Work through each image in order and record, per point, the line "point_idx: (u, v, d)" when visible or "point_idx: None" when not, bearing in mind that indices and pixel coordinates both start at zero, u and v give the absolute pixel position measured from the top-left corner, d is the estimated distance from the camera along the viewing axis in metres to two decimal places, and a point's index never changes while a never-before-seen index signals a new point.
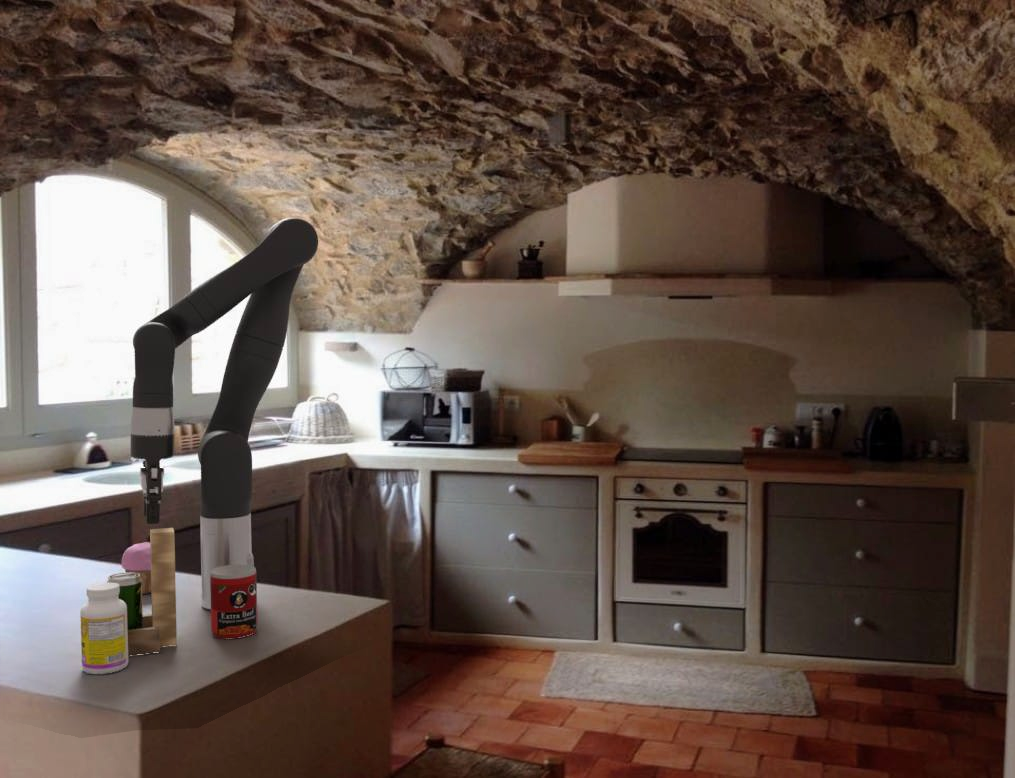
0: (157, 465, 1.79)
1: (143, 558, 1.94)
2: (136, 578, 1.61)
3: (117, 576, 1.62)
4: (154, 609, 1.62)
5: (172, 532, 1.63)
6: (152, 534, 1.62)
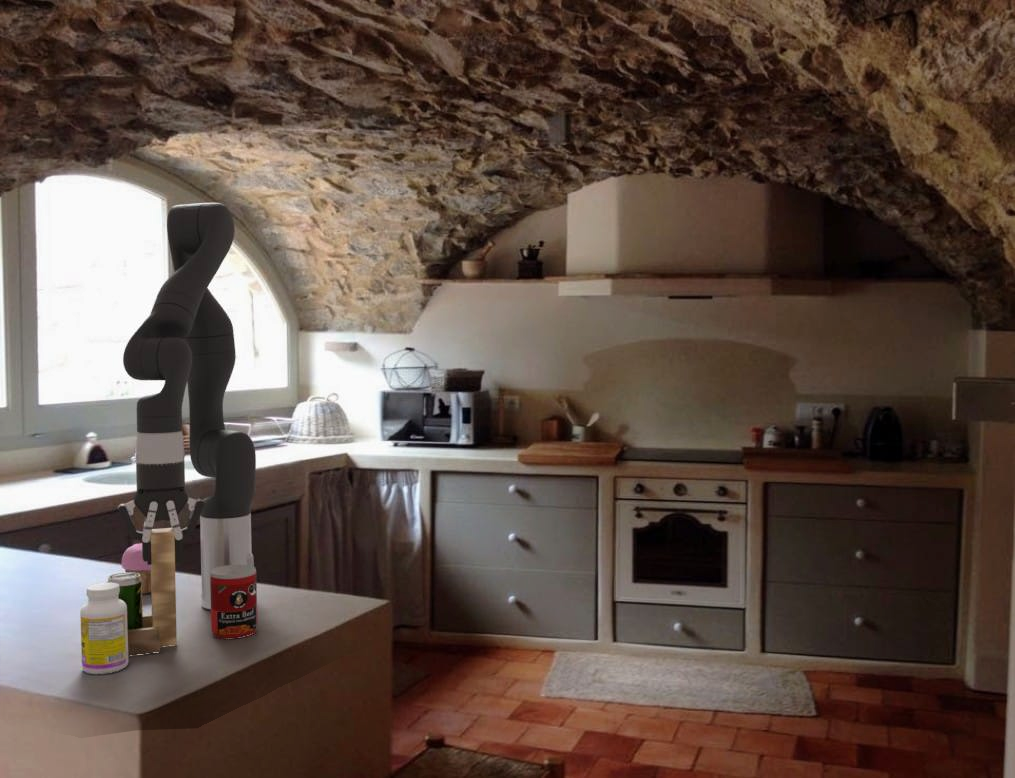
0: None
1: None
2: (136, 578, 1.61)
3: (117, 576, 1.62)
4: (154, 609, 1.62)
5: (172, 532, 1.63)
6: (152, 534, 1.62)
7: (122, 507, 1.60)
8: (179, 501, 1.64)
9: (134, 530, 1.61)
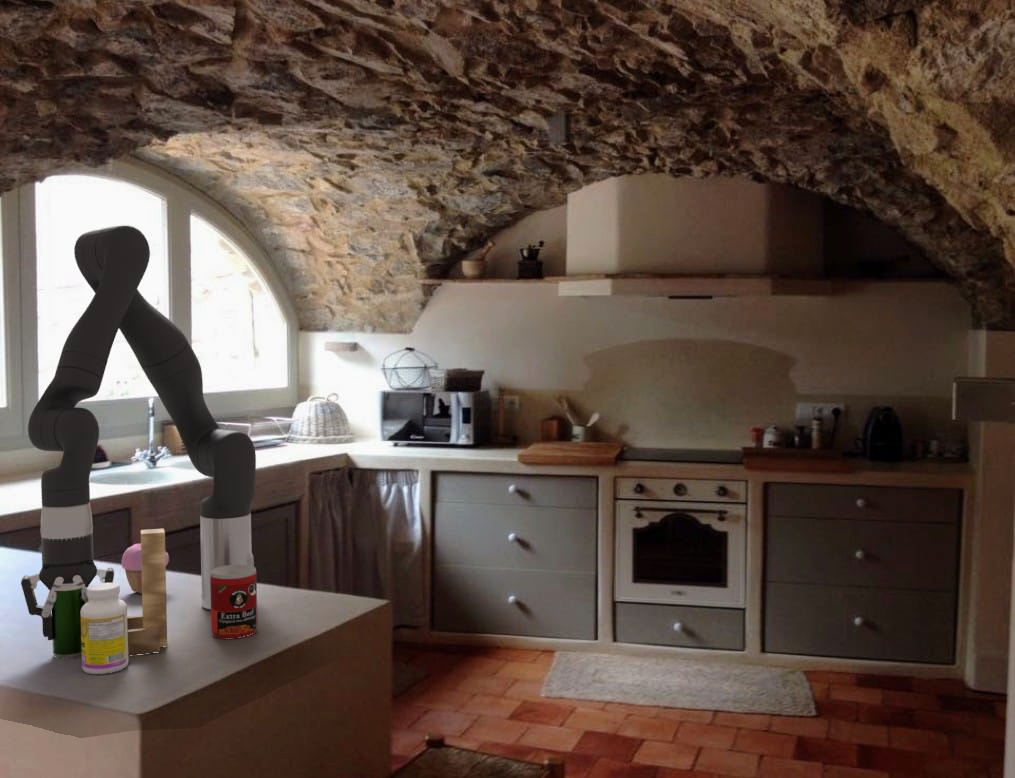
0: None
1: None
2: None
3: None
4: (144, 610, 1.62)
5: (162, 533, 1.62)
6: (142, 535, 1.61)
7: (25, 580, 1.55)
8: (87, 575, 1.59)
9: (34, 605, 1.56)
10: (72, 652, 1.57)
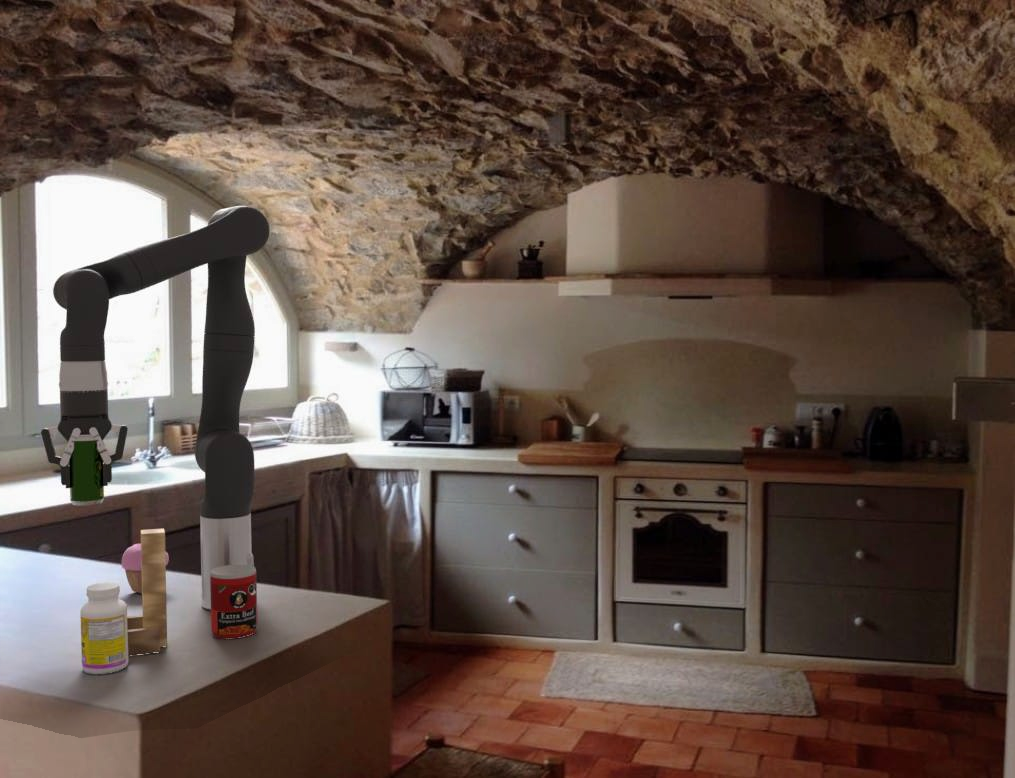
0: None
1: None
2: None
3: None
4: (144, 610, 1.62)
5: (163, 533, 1.62)
6: (142, 535, 1.61)
7: (45, 430, 1.66)
8: (103, 429, 1.70)
9: (53, 454, 1.67)
10: (88, 499, 1.68)
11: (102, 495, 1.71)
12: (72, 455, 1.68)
